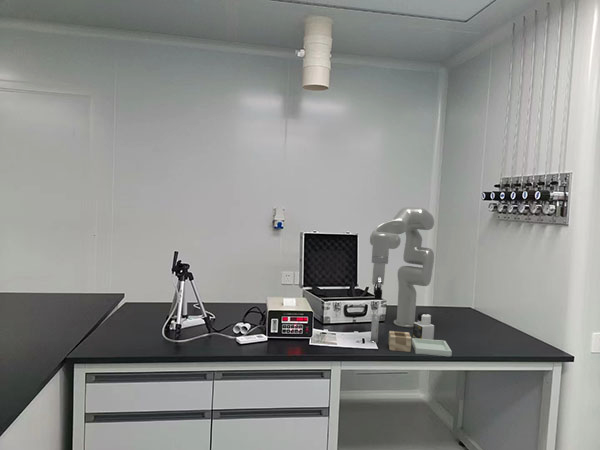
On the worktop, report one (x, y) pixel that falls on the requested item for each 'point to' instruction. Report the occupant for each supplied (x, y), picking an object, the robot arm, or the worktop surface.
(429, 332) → the medicine bottle
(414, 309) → the robot arm
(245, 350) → the worktop surface
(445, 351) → the tray
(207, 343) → the worktop surface
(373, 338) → the cylinder
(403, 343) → the beech block
